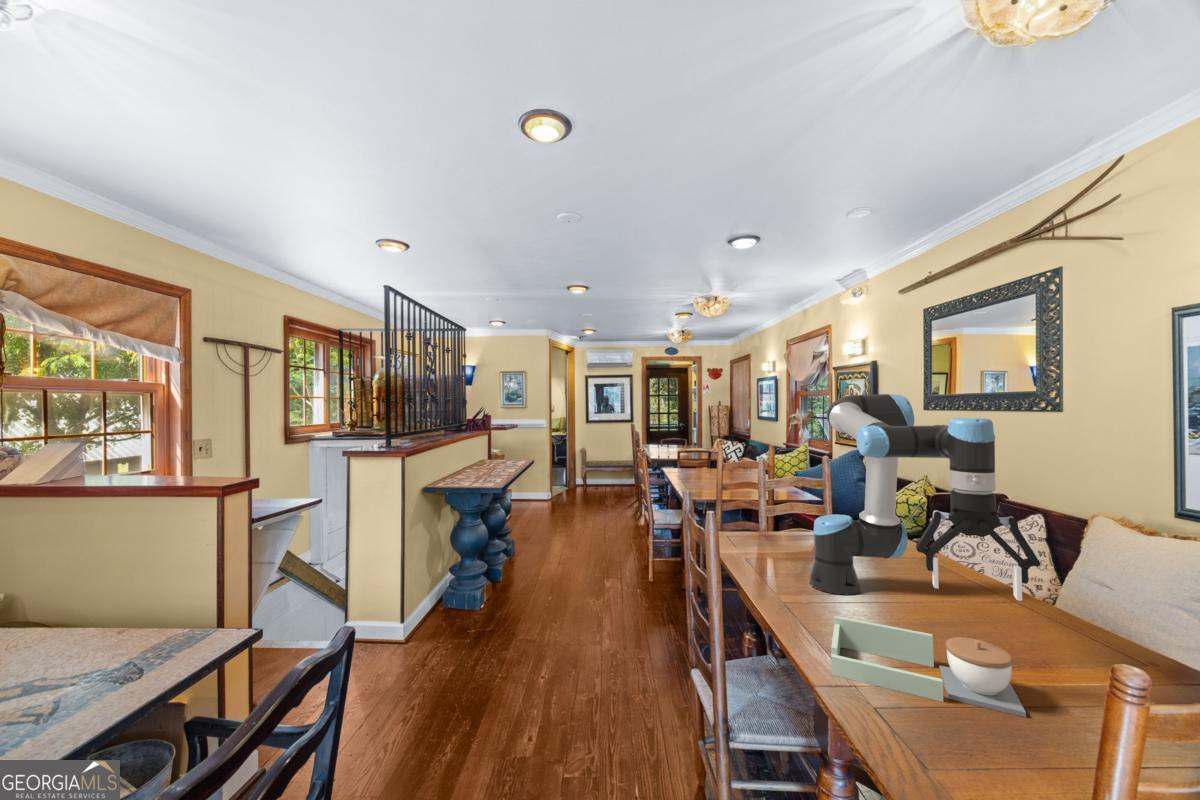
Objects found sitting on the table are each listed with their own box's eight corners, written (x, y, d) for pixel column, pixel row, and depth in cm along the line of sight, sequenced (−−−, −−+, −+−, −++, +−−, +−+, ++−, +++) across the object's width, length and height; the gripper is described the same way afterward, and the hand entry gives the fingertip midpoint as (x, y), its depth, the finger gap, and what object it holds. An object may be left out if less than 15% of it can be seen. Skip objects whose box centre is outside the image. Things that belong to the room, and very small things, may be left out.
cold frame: (835, 643, 116) (834, 615, 116) (933, 664, 106) (932, 634, 106) (831, 674, 103) (830, 642, 103) (943, 702, 93) (942, 666, 93)
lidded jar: (1027, 705, 90) (1025, 657, 90) (964, 699, 92) (963, 652, 92) (992, 675, 100) (990, 631, 100) (936, 670, 102) (935, 627, 102)
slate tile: (939, 669, 104) (939, 665, 104) (1008, 684, 98) (1008, 680, 98) (948, 698, 94) (947, 693, 94) (1026, 717, 88) (1025, 712, 88)
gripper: (903, 489, 100) (905, 587, 100) (1059, 499, 88) (1063, 611, 87) (900, 484, 106) (903, 576, 106) (1045, 492, 94) (1049, 596, 94)
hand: (975, 592), depth 97 cm, fingers open, 13 cm apart
